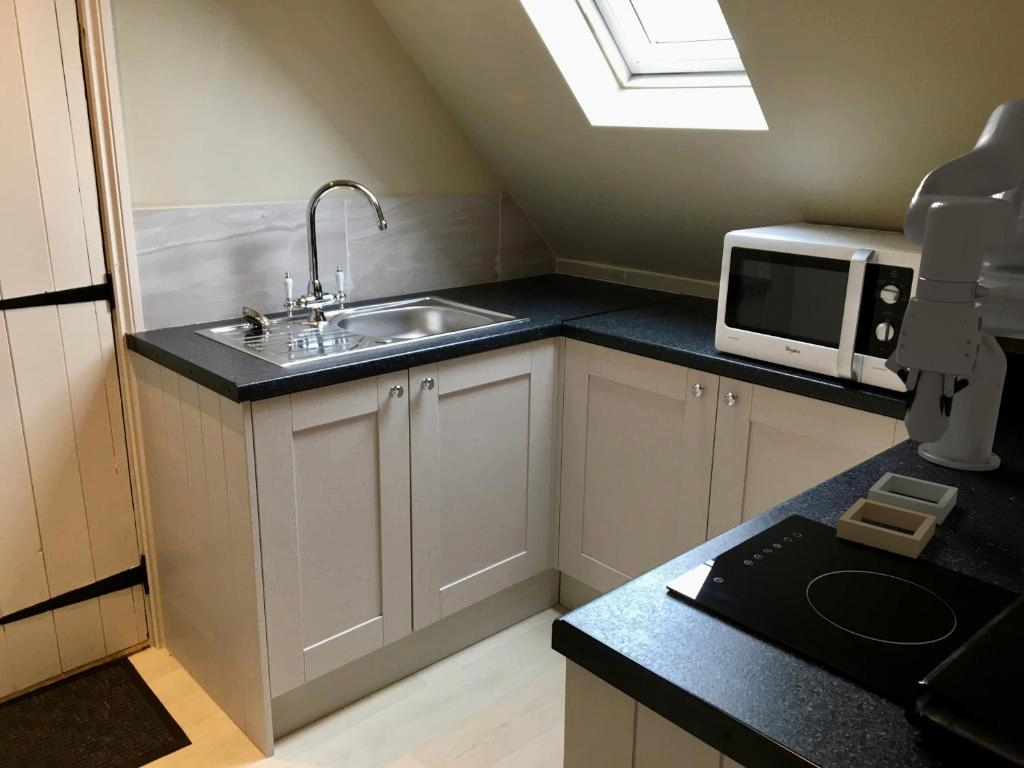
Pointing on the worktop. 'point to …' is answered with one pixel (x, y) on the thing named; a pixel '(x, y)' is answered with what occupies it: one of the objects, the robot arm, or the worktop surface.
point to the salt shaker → (927, 409)
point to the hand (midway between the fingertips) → (926, 416)
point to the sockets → (898, 514)
